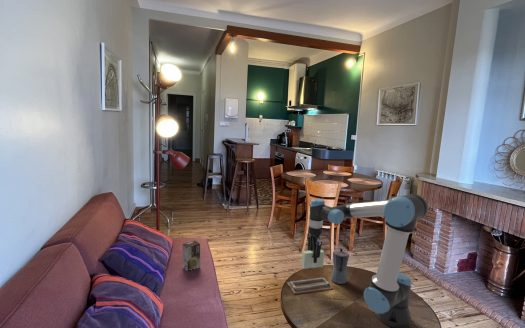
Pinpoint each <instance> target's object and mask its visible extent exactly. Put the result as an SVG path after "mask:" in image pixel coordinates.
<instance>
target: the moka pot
mask: <svg viewBox="0 0 525 328" xmlns="http://www.w3.org/2000/svg"><path fill="white" fill-rule="evenodd" d="M349 257H350V253H348V252H347V251H344V249H343V248H340V249H338V250H335V249H334V250H333V252H332V260H333V261H332V263H333V268H332V269H333V270H332V274H331V278H330V279H331V281H332V282H334V283H335V284H338V285H345V284H346V283H347V266H348V263H349V259H350V258H349Z"/></svg>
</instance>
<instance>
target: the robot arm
mask: <svg viewBox="0 0 525 328" xmlns="http://www.w3.org/2000/svg"><path fill="white" fill-rule="evenodd" d="M325 202H326V201H325V200H324V199H322V198H312V199H311V200H310V205H309V218H308V231H307V232H308V233H307V250H306V251H311V250H313V256H312V266H311V268H310V269H316V268H317V267H316V265H317V258H319V257H320V251H321V250H322V245H323V242H322V241H321V238H320V236H321V235H322V234H323V226H324V225H323V224H324V220H325V221H327V222H329V223H331V224H335V225H340V224H341V223H343V221H344V220H345V219H352V218H354V219H355V218H370V217H384V220H385V222H384V225H385V226H386V227H387V229H386V233H385V238H384V242H383V246H382V249H381V255H380V258H379V263H378V266H377V270H376V273H375V274H373V275H372V277H371V280H370V284H369V286H368V287H366V288H365V290H364V291H363V299H364V302H365V303H366V305H367V306H368V308H369V309H370V310H371V311H373V312H374V313H376V316H377V318H378V320H380V322H382V323H383V324H385V325H386V326H388V327H391V328H410V326H411V324H412V318H411V314H410V309H409V306H410V305H409V303H410V296H411V289H412V279H411V278H410V277H409V276H408V275H407V274H405V273H403V272H400V270H401V266H402V262H403V258H404V254H405V250H406V248H407V243H408V240H409V235H410V234H412V233H415V230H416V225H417V222H418V221H420V220H422V219H424V218H425V217H426V216H427V214H428V211H429V205H428V202H427V200H426V199H425V198H424V197H422V195H420V194H416V193H408V194H405V195H400V196H395V197H393V198H391V199H387V200H386V199H385V200H376V201H364V202H356V203H345V204H340V205H336V206H329V205H326V204H325Z"/></svg>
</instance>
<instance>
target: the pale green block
mask: <svg viewBox="0 0 525 328" xmlns="http://www.w3.org/2000/svg"><path fill="white" fill-rule="evenodd" d="M301 254H302V256H301V267H302V269H304V270H305V269H312V268H311V266H312V256H313V250H311V251H308V250H304V251H302V253H301ZM324 258H325V251H324V250H323V249H321V251H320V257H319V258H317V265H316V268H323V267H324Z"/></svg>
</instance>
